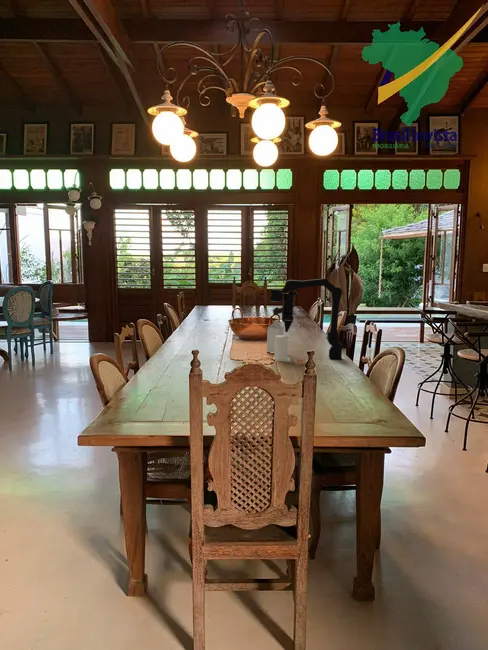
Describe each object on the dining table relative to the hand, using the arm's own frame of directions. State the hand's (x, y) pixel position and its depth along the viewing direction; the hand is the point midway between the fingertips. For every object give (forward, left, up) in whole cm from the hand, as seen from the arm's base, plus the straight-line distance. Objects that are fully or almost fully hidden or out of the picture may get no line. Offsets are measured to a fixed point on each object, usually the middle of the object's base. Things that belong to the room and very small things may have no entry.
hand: (286, 330), depth 273 cm
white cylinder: (+2, +9, -14) cm, 17 cm away
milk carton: (+6, -7, -15) cm, 17 cm away
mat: (+2, +9, -14) cm, 17 cm away
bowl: (-8, +18, -15) cm, 25 cm away
